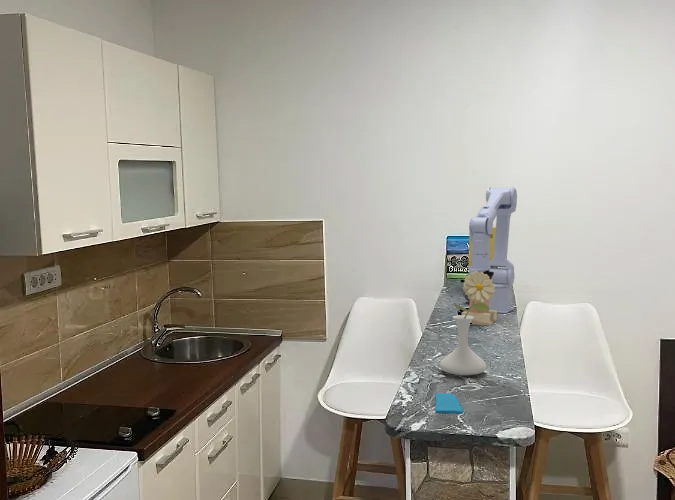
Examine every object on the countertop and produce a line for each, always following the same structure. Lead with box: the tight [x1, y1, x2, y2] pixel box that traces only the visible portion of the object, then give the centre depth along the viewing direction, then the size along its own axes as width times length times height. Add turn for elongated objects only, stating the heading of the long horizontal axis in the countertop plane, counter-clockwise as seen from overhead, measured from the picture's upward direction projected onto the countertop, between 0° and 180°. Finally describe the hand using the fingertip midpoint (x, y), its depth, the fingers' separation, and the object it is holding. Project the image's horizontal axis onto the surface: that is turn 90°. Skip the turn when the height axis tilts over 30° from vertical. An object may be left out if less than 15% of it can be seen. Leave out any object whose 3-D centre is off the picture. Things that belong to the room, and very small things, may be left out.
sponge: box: [434, 392, 465, 414], centre depth 149 cm, size 2×12×6 cm
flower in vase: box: [438, 271, 495, 376], centre depth 171 cm, size 13×11×25 cm
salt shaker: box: [463, 292, 470, 306], centre depth 268 cm, size 6×6×12 cm
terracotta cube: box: [468, 299, 489, 313], centre depth 234 cm, size 5×5×5 cm
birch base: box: [461, 309, 498, 327], centre depth 234 cm, size 9×9×4 cm
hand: (479, 294), depth 233 cm, fingers open, 7 cm apart
